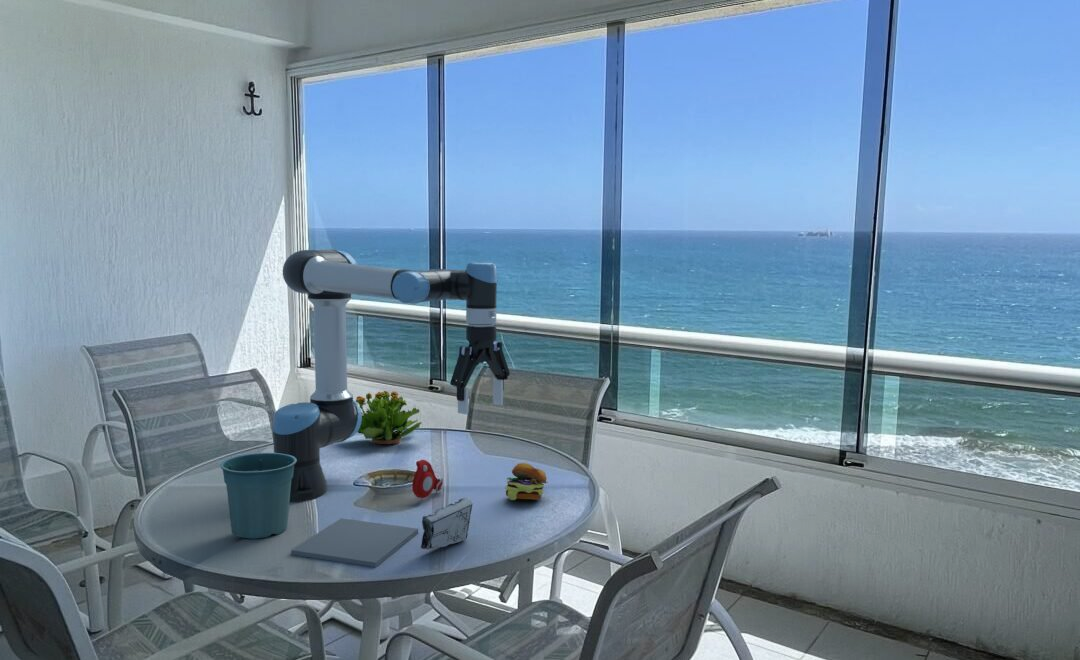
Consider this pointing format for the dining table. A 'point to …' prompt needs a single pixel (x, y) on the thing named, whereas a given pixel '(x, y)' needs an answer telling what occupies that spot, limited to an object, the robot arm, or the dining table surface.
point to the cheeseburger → (526, 482)
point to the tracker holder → (425, 480)
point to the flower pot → (258, 493)
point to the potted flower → (386, 418)
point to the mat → (356, 542)
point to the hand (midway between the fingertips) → (480, 408)
